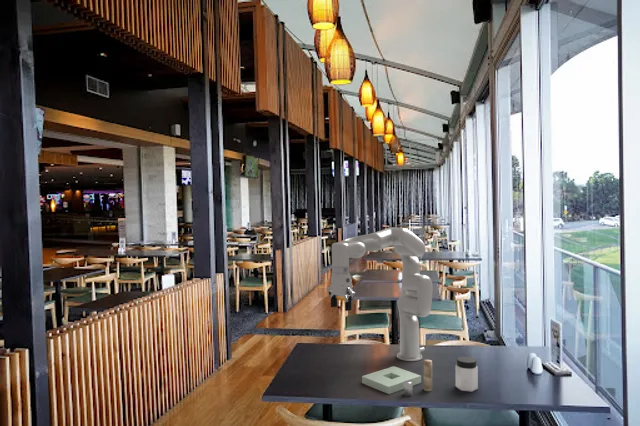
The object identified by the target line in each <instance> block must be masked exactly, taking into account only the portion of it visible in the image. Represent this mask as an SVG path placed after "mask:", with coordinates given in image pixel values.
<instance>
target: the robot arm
mask: <svg viewBox="0 0 640 426" xmlns="http://www.w3.org/2000/svg"><path fill="white" fill-rule="evenodd" d="M391 246H393V249H394V251H395V253H396V254H397V255H398V256H399V258H400V259H401V262H402V276H401V287H402V288H401V289H403V291H405V292H408V293H412V294H413V295H412V294H402V295H401V296H399V298H398V299H397V302H396V303H397V310H398V317H399V352H397V354H396V358H397V359H398V360H401V361H405V362H418V361H421V360H422V359H423V355H422V352H424V351H425V350H426V349H425V347H424V346H422V347H420V324H419V323H420V322H419V318H420V317H421V318H425V317H428V316H429V315H430V314H431V310H432V304H433V303H432V302H433V291H434V289H433V282H432V279H431V278H430V276H428V275H427V274H426V275H425V274H420V273H421V271H420V268H421V265H420V260H419V258H420V257H422V256H423V255H424V254H425V252H426V245H425V243H424V241H423V240H422V239H421V238H419V236H417V235H416V234H415V233H413V232H412V231H411V230H409V229H408V228H405V227H393V226H392V227H387V228H385V229H381V230H378V231H376V232H373V233H367V234H363V235H357V236H352V237H349V238H345V239H343V240H341V241H340V242H333V243H332V245H331V276H330V286H328V287H327V292H328V295H329V298H330V308H337V307H338V298H337V297H343V298H344V300H345V301H344V311H345V312H348V311H351V310H352V302H353V299H354V298H355V294H356V292H355V291H354V290H353V284H352V283H353V282H352V276H351V273H350V259H351V258H352V259H359V258H362V257H363V256H365V254H366V252H375V251H376V252H377V251H380V250H381V251H382V250H383V249H386V248H389V247H391ZM415 294H417V295H415ZM418 317H419V318H418Z"/></svg>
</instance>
